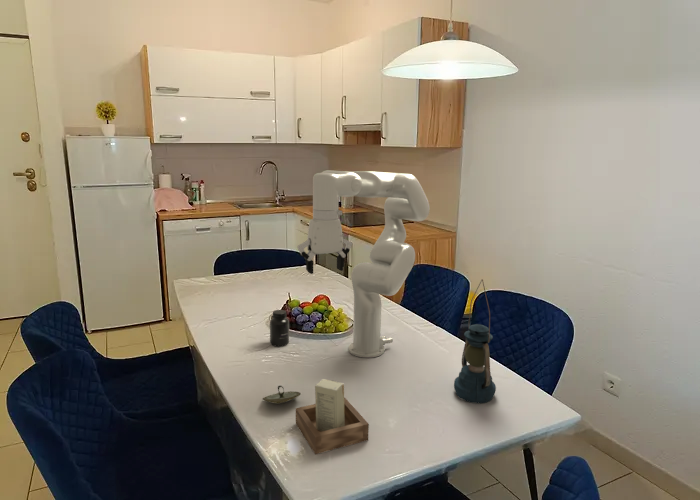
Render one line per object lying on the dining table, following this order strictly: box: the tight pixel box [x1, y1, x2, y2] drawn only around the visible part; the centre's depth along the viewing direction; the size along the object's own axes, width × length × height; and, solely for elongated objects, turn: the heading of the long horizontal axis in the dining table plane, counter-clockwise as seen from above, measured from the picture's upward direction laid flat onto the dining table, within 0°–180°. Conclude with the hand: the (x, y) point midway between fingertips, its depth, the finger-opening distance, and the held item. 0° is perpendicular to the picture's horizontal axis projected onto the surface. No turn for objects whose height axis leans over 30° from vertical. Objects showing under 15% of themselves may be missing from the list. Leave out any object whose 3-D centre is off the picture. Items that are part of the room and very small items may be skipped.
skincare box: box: [314, 378, 345, 431], centre depth 126 cm, size 6×4×12 cm
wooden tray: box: [295, 396, 370, 455], centre depth 127 cm, size 14×14×4 cm
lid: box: [262, 385, 302, 404], centre depth 140 cm, size 11×10×5 cm
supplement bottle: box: [269, 309, 290, 347], centre depth 180 cm, size 7×7×12 cm
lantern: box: [453, 279, 497, 404], centre depth 143 cm, size 14×12×35 cm
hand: (325, 271), depth 152 cm, fingers open, 9 cm apart
